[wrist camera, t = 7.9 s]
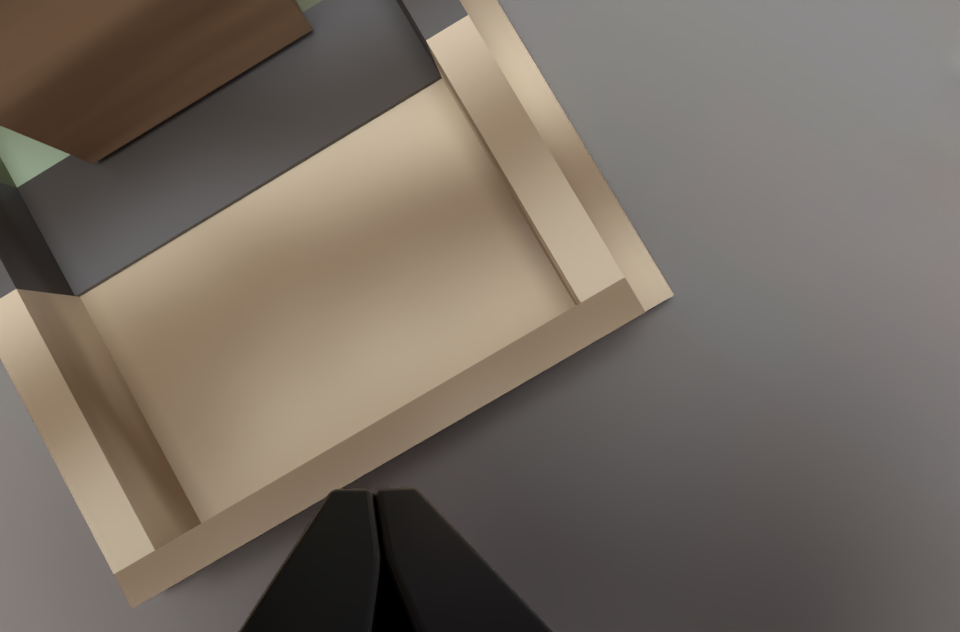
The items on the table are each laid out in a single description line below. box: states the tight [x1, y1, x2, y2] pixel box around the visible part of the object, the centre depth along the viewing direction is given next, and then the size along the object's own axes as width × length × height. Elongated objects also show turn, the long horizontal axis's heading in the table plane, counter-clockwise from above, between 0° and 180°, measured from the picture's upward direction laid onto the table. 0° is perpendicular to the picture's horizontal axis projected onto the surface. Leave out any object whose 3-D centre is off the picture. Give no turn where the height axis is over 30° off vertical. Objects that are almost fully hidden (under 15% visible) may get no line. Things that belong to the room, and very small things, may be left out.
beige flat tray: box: [0, 0, 674, 609], centre depth 21 cm, size 21×14×4 cm, turn 30°
